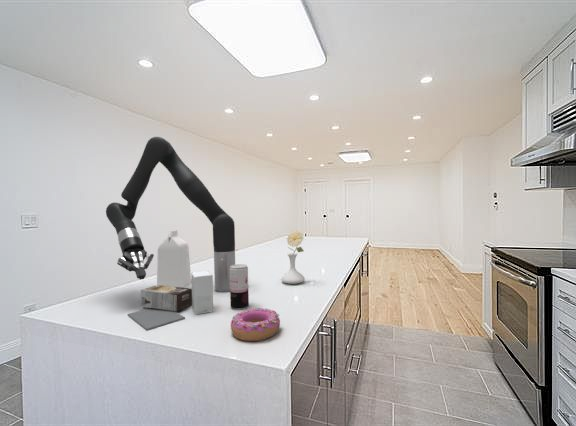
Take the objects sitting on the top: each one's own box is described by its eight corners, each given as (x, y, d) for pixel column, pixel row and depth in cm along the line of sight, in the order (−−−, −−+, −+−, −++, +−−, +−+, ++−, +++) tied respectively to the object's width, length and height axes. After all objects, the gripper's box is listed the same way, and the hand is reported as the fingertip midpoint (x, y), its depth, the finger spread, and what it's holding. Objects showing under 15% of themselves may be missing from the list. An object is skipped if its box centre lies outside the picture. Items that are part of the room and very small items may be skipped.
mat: (127, 315, 97) (127, 313, 97) (162, 306, 106) (162, 304, 106) (146, 330, 85) (146, 328, 85) (185, 318, 93) (185, 317, 93)
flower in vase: (276, 282, 136) (275, 230, 135) (293, 278, 144) (292, 229, 143) (295, 288, 126) (294, 232, 126) (312, 283, 134) (311, 230, 133)
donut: (220, 338, 79) (220, 320, 79) (247, 319, 92) (247, 304, 92) (266, 347, 73) (265, 328, 73) (288, 326, 87) (287, 309, 86)
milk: (182, 288, 129) (180, 231, 129) (156, 288, 129) (155, 232, 129) (191, 281, 141) (189, 229, 141) (168, 281, 141) (166, 229, 141)
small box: (213, 311, 99) (212, 274, 99) (194, 315, 96) (193, 277, 96) (209, 304, 107) (208, 270, 106) (191, 307, 104) (190, 272, 103)
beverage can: (241, 302, 108) (241, 263, 108) (252, 306, 104) (251, 265, 103) (227, 307, 104) (226, 266, 103) (237, 311, 99) (236, 268, 99)
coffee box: (157, 284, 111) (193, 288, 107) (157, 300, 111) (193, 305, 107) (140, 289, 102) (178, 294, 98) (139, 307, 102) (177, 312, 98)
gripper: (112, 237, 105) (124, 275, 96) (150, 234, 114) (163, 268, 106) (109, 250, 109) (120, 287, 100) (146, 246, 118) (158, 280, 110)
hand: (142, 277), depth 103 cm, fingers closed
